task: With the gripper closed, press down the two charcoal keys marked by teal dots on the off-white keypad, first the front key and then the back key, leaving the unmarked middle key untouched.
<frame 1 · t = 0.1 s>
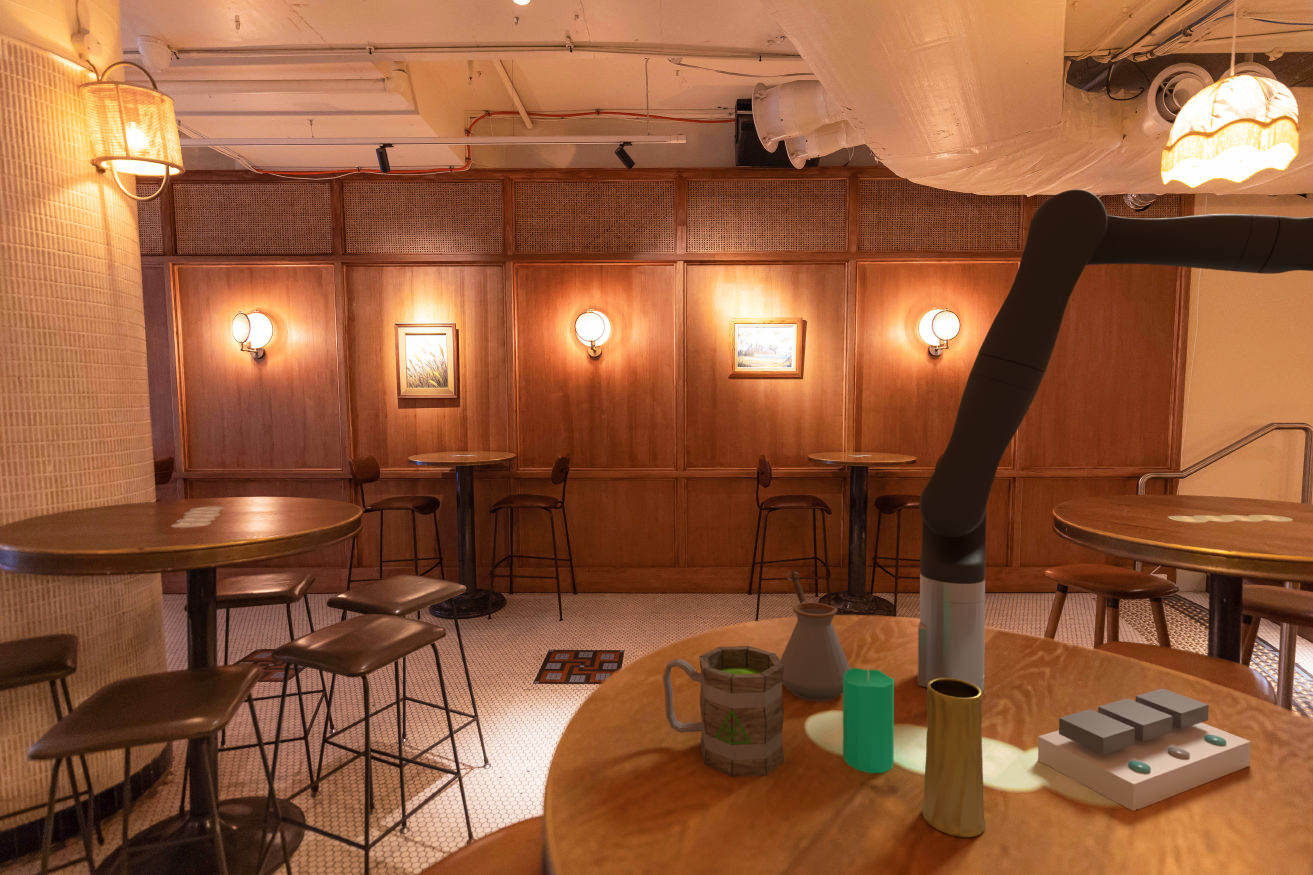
back key: (1171, 707, 82), point 5 cm above the table, slide at 0.0 cm
vase: (953, 821, 68), on the table
coffee pot: (806, 678, 104), on the table
front key: (1096, 730, 76), point 5 cm above the table, slide at 0.0 cm
mug: (722, 752, 82), on the table
candle: (868, 761, 80), on the table
middle key: (1134, 719, 79), point 5 cm above the table, slide at 0.0 cm
keypad: (1142, 762, 78), on the table
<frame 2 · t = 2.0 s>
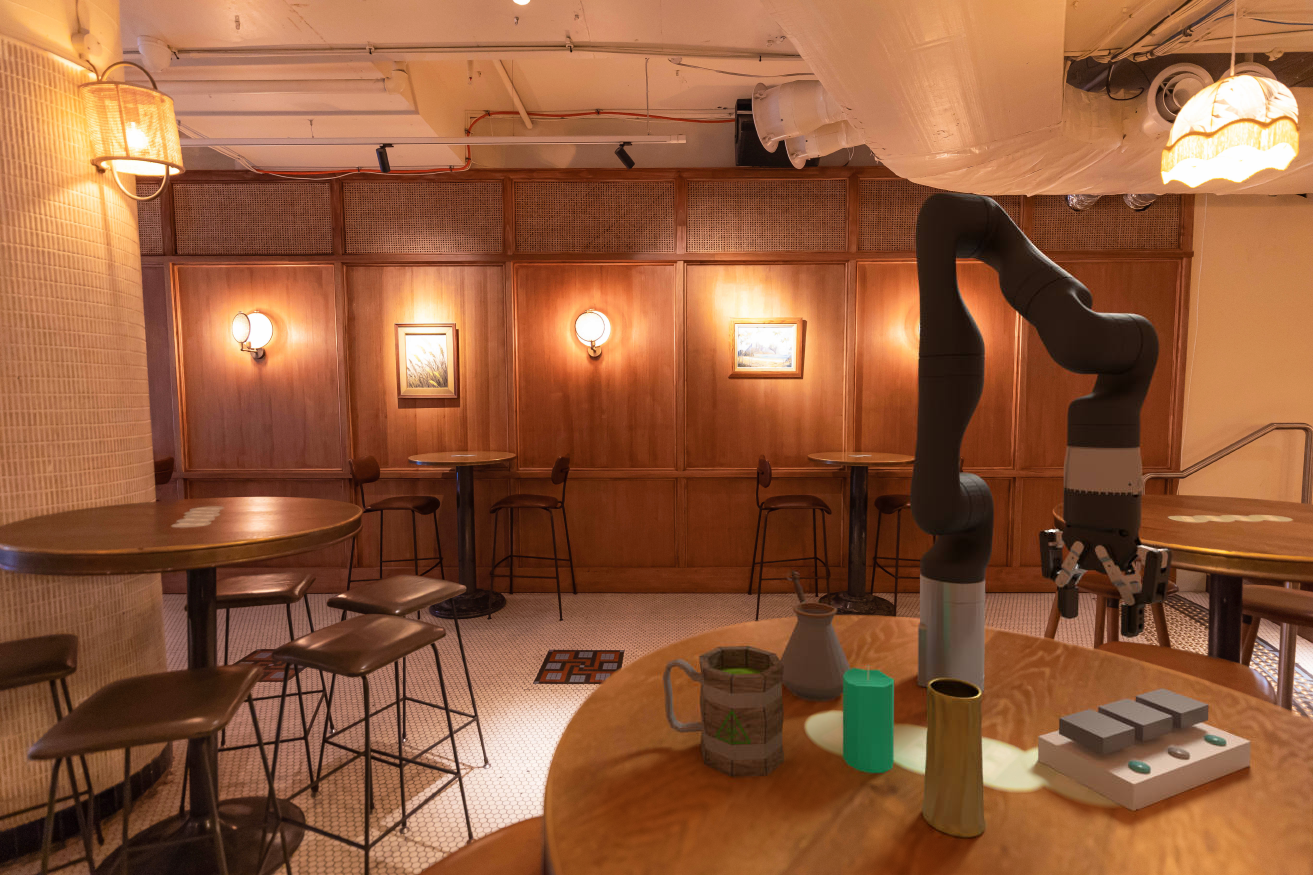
hand: (1098, 625, 76), 18 cm above the table, tool pointing down, fingers open, 6 cm apart
nothing on the table moved.
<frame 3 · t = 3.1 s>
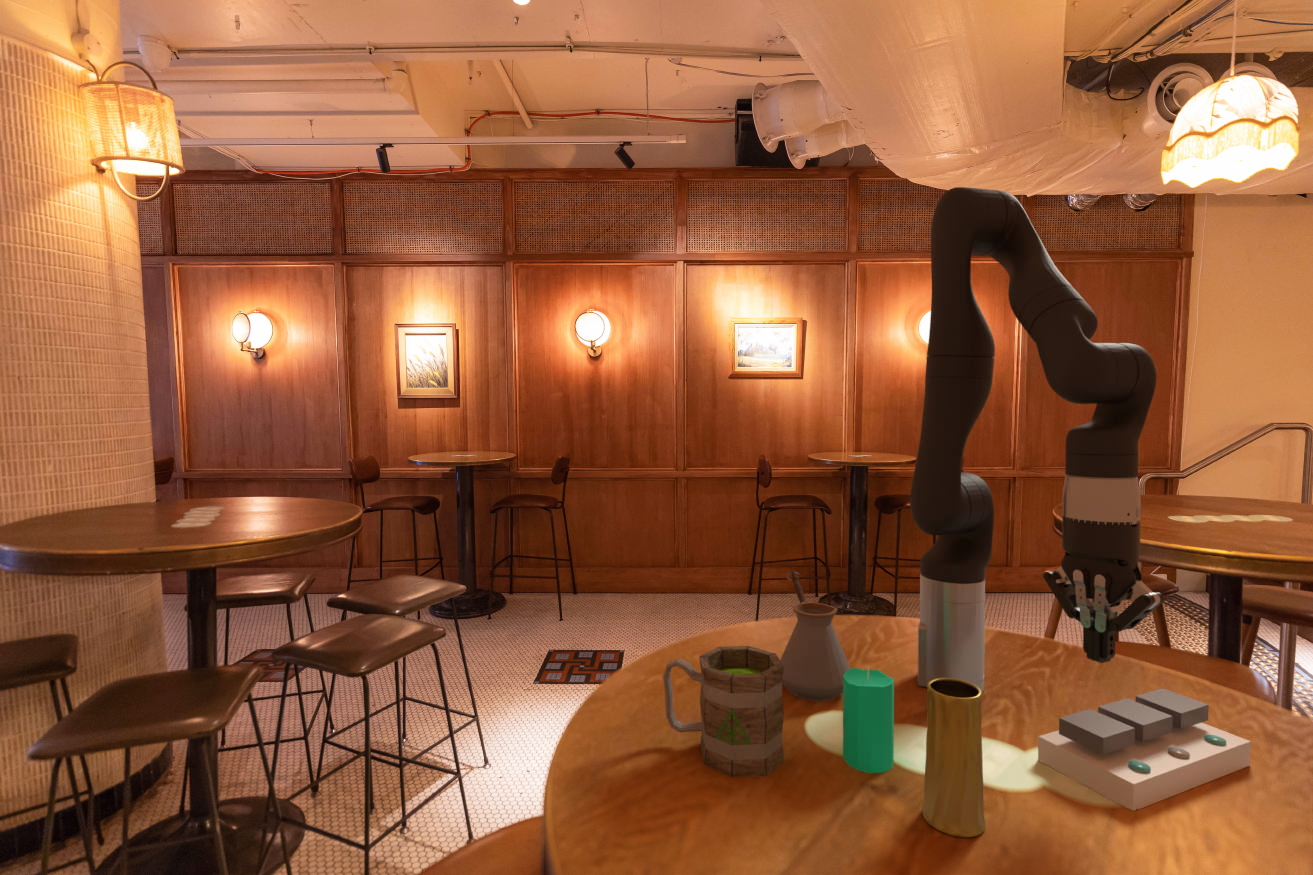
hand: (1099, 659, 76), 14 cm above the table, tool pointing down, fingers closed
nothing on the table moved.
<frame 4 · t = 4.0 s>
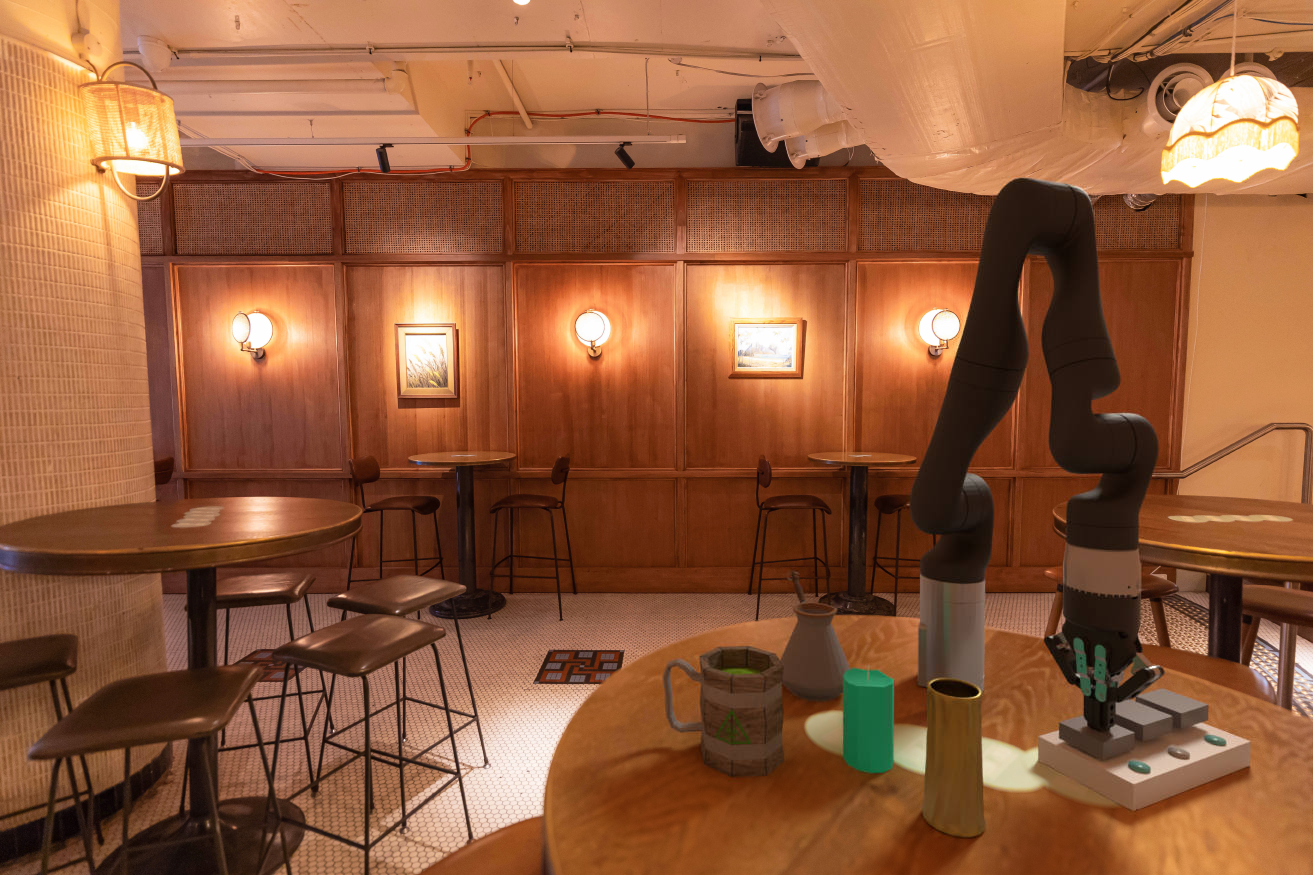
hand: (1099, 727, 76), 5 cm above the table, tool pointing down, fingers closed
front key: (1096, 735, 76), point 4 cm above the table, slide at 0.5 cm, touching gripper
everything else where it was.
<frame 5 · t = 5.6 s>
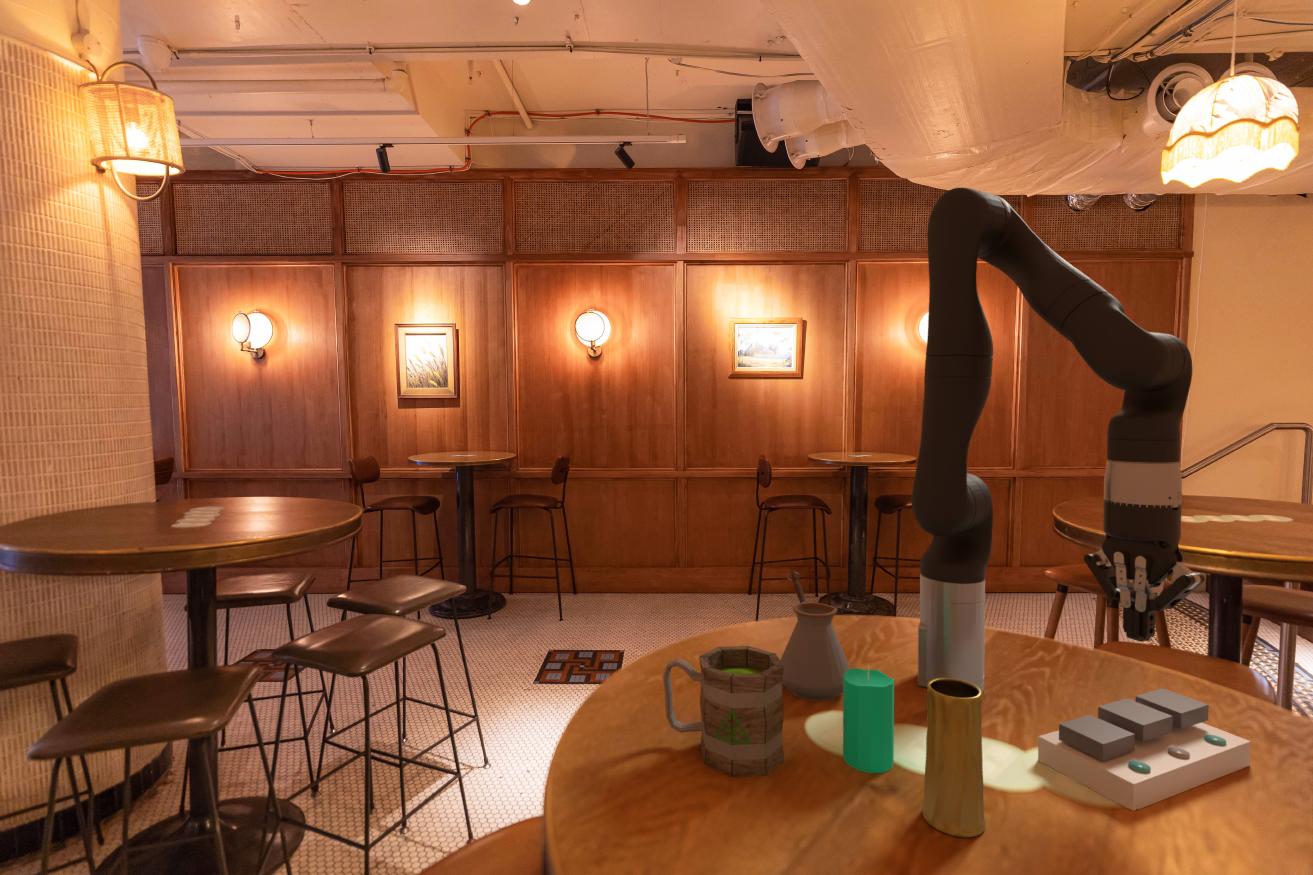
hand: (1138, 638, 78), 15 cm above the table, tool pointing down, fingers closed
front key: (1096, 736, 76), point 4 cm above the table, slide at 0.7 cm
everything else where it was.
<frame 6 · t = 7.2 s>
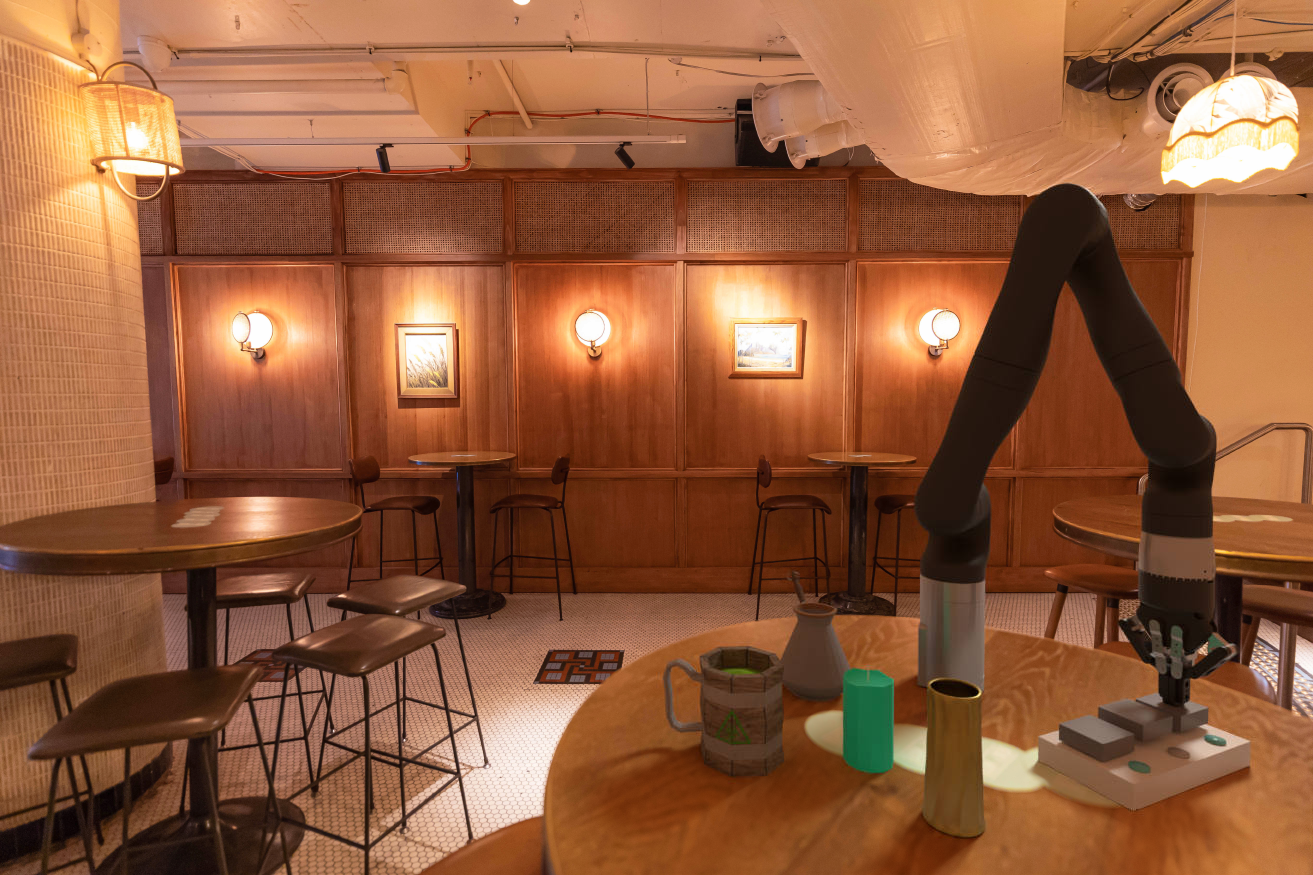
hand: (1174, 703, 82), 6 cm above the table, tool pointing down, fingers closed
back key: (1171, 710, 82), point 5 cm above the table, slide at 0.4 cm, touching gripper
everything else where it was.
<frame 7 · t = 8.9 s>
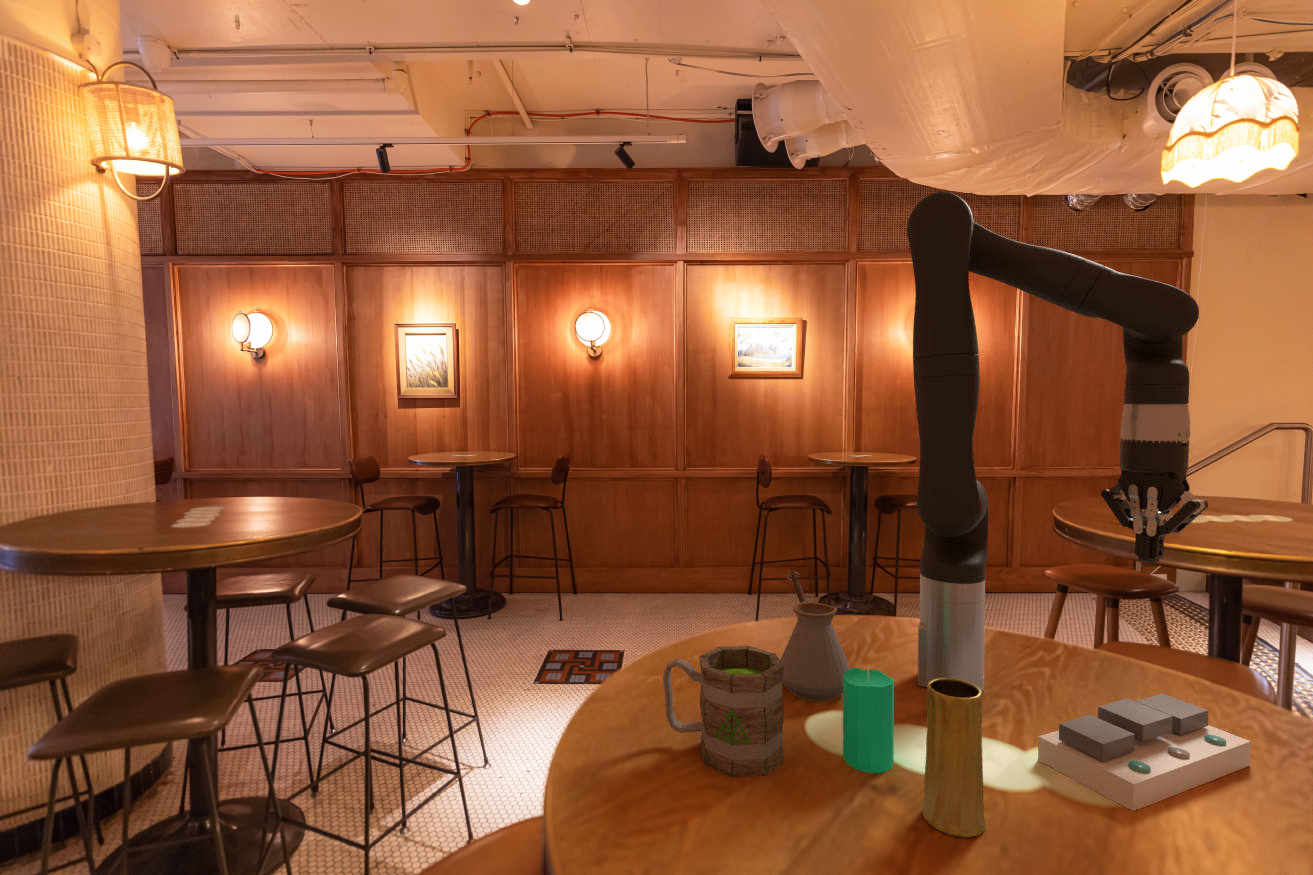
hand: (1148, 561, 90), 22 cm above the table, tool pointing down, fingers closed
back key: (1171, 713, 82), point 4 cm above the table, slide at 0.7 cm
everything else where it was.
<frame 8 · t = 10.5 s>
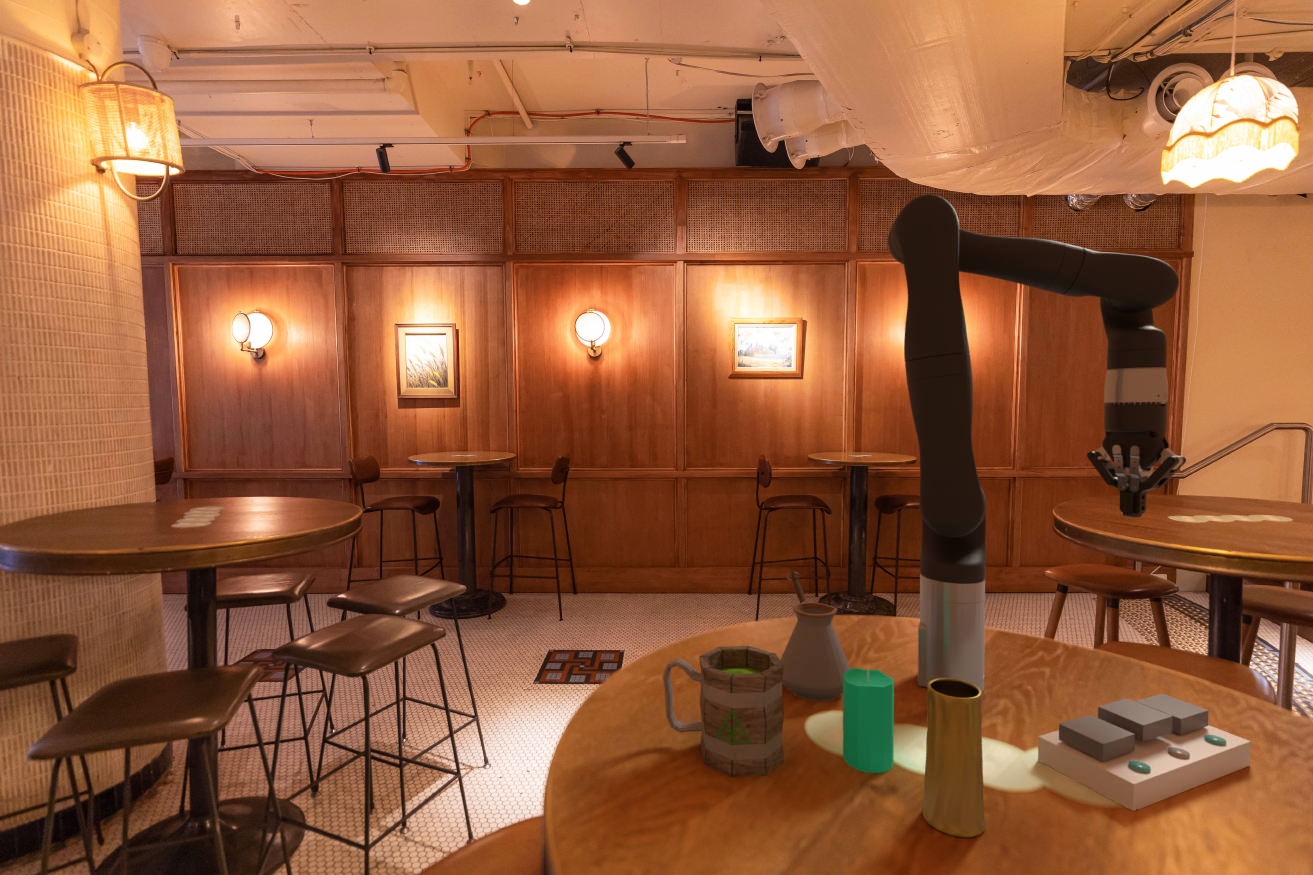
hand: (1132, 516, 96), 27 cm above the table, tool pointing down, fingers closed
nothing on the table moved.
at the end: front key slide at 0.7 cm; back key slide at 0.7 cm; middle key slide at 0.0 cm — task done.
